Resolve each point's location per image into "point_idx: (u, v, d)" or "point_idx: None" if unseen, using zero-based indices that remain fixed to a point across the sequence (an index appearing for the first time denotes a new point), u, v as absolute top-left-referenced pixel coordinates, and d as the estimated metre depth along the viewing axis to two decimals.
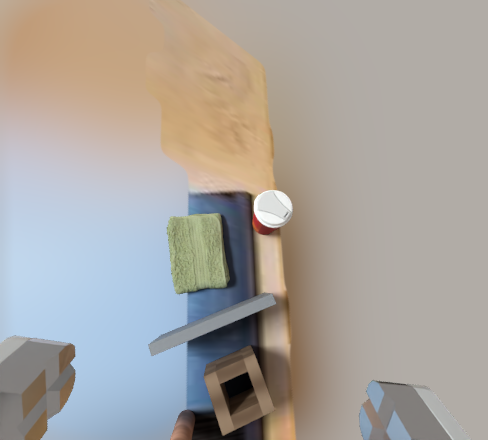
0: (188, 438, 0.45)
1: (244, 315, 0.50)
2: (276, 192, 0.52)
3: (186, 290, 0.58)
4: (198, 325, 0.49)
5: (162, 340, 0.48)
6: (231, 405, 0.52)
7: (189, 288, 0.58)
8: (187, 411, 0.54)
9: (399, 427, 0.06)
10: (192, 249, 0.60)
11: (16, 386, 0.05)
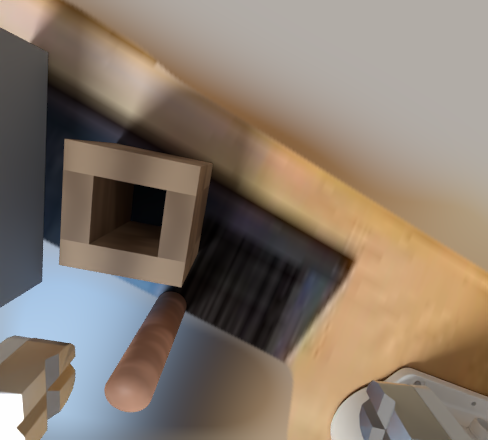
0: (142, 344, 0.22)
1: None
2: None
3: None
4: None
5: None
6: None
7: None
8: (157, 299, 0.31)
9: (399, 427, 0.06)
10: None
11: (16, 386, 0.05)
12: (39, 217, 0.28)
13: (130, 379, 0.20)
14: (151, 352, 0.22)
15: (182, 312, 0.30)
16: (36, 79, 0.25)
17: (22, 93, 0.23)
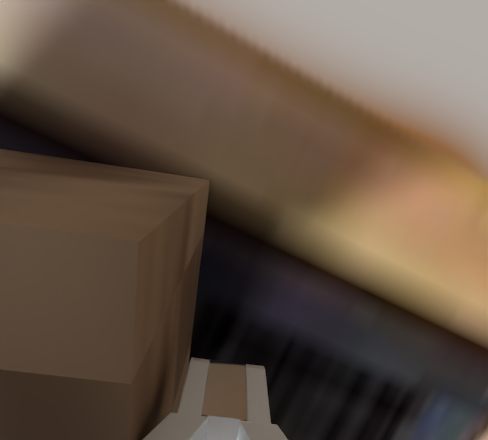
0: None
1: None
2: None
3: None
4: None
5: None
6: None
7: None
8: None
9: None
10: None
11: (236, 411, 0.06)
12: None
13: None
14: None
15: None
16: None
17: None
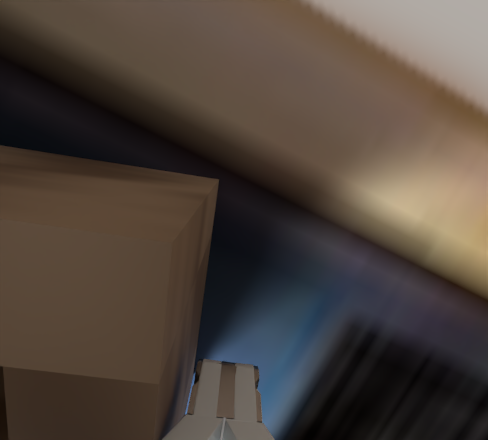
0: None
1: None
2: None
3: None
4: None
5: None
6: None
7: None
8: None
9: None
10: None
11: (251, 413, 0.06)
12: None
13: None
14: None
15: None
16: None
17: None
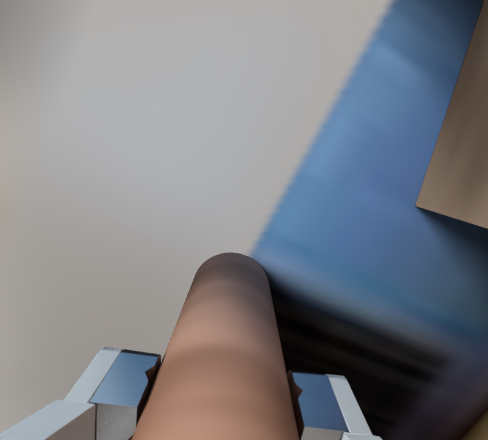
0: None
1: None
2: None
3: None
4: None
5: None
6: None
7: None
8: (254, 266, 0.11)
9: (299, 416, 0.06)
10: None
11: (129, 399, 0.06)
12: None
13: None
14: None
15: None
16: None
17: None
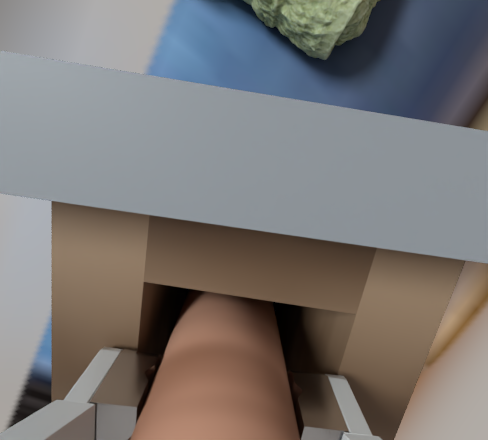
0: None
1: None
2: None
3: None
4: (82, 90, 0.04)
5: None
6: None
7: None
8: None
9: (299, 415, 0.06)
10: None
11: (129, 399, 0.06)
12: None
13: None
14: None
15: None
16: None
17: None
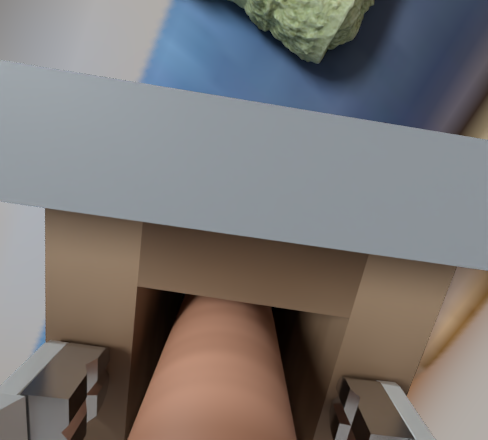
0: None
1: None
2: None
3: None
4: (70, 97, 0.04)
5: None
6: None
7: None
8: None
9: (361, 423, 0.06)
10: None
11: (62, 391, 0.05)
12: None
13: None
14: None
15: None
16: None
17: None
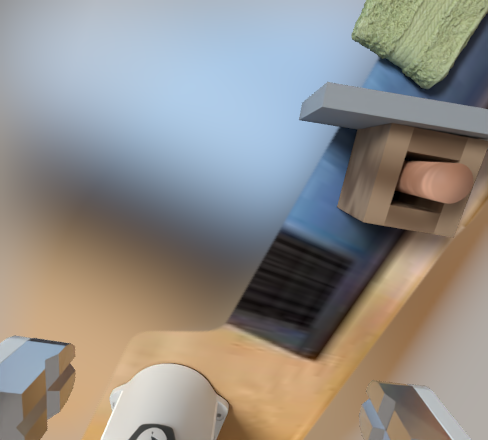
0: None
1: None
2: None
3: (374, 40, 0.30)
4: (429, 103, 0.24)
5: (355, 89, 0.23)
6: None
7: (382, 40, 0.29)
8: None
9: (399, 427, 0.06)
10: None
11: (16, 386, 0.05)
12: None
13: (466, 186, 0.23)
14: None
15: None
16: None
17: None
